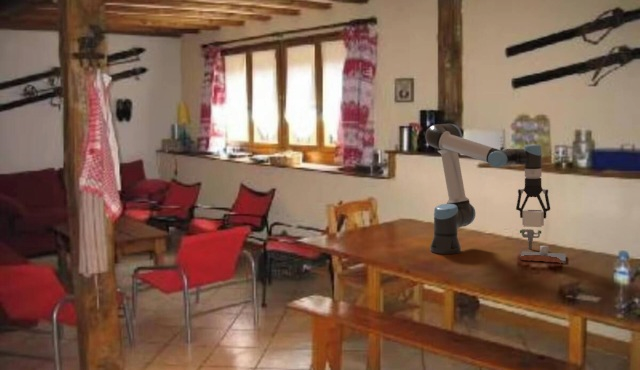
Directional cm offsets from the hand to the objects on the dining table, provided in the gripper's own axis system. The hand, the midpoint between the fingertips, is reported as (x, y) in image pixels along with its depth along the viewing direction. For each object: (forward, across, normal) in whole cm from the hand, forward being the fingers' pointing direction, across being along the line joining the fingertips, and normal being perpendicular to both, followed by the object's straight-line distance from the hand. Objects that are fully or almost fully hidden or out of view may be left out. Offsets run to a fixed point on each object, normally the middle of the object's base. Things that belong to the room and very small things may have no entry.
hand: (533, 224), depth 306 cm
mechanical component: (+16, -3, +20) cm, 26 cm away
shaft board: (+16, +4, +1) cm, 17 cm away
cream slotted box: (0, 0, 0) cm, 0 cm away
